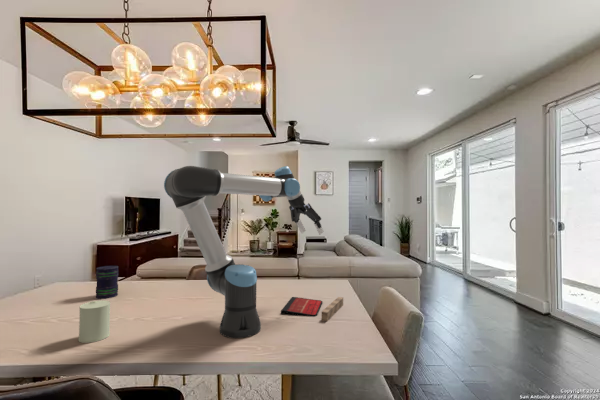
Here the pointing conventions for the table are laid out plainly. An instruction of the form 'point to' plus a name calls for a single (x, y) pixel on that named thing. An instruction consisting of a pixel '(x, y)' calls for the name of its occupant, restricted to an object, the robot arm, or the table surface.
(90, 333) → the can
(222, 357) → the table surface
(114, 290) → the storage jar
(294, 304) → the binder
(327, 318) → the rail
